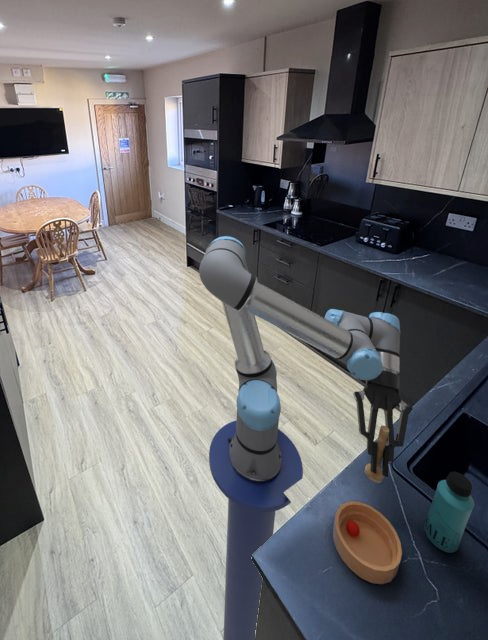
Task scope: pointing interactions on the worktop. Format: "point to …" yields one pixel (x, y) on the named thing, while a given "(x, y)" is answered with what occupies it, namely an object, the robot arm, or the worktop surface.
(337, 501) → the worktop surface
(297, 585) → the worktop surface
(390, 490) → the worktop surface
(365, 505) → the bowl
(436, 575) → the worktop surface
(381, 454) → the wooden peg
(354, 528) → the cherry tomato
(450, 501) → the beverage bottle
